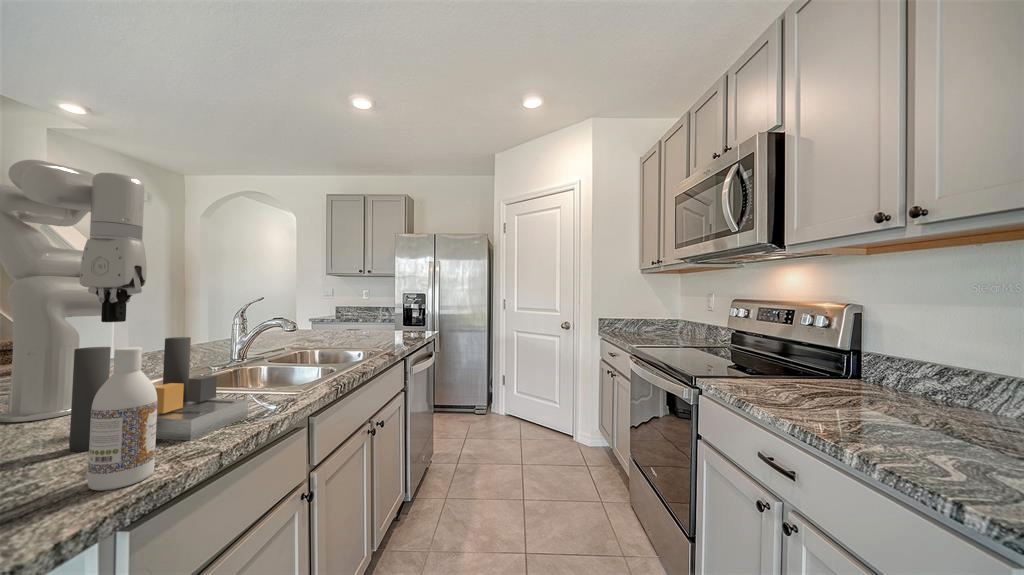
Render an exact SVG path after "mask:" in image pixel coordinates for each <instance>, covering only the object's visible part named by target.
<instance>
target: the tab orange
mask: <svg viewBox="0 0 1024 575" xmlns="http://www.w3.org/2000/svg"><path fill="white" fill-rule="evenodd" d="M154 387H155V389H156V393H157V399H158V400H157V413H167V412H170V411H173V410H176V409H180V408H183V390H184V384H182V383H169V384H164V385H163V384H161V385H156V386H154Z"/></svg>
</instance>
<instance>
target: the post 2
mask: <svg viewBox="0 0 1024 575" xmlns="http://www.w3.org/2000/svg"><path fill="white" fill-rule="evenodd" d="M191 340H192V337H189V336H179V337H178V336H177V337H176V336H175V337H166V338H164V354H163V374H162V385H164V384H169V383H182V384H184V390H183V402H187V401H188V379H190V368H191V367H190V363H191V362H190V361H191V360H190V358H191V343H192V342H191Z"/></svg>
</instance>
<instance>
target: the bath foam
mask: <svg viewBox="0 0 1024 575" xmlns="http://www.w3.org/2000/svg"><path fill="white" fill-rule="evenodd" d="M113 353H114V354H113V355H114V356H113V357H114V358H113V373H112V374H111V375H109V379H108V380H107V381H106V382H105V383H104V384H103V385H102V387H101V388H100V389H99V390H98V392H97V393H96V395H95V397H94V400H93V403H92V409H91V421H90V440H89V451H88V461H87V462H88V464H87V465H88V466H87V467H88V468H87V472H88V473H87V487H88V488H89V489H90V490H93V491H111V490H116V489H121V488H124V487H128V486H131V485H134V484H137V483H140V482H141V481H144V480H145V479H148V478H149V477H150V476H151V475H152V474H153V473H154V471H155V463H156V462H155V459H156V440H157V439H156V422H157V400H158V399H157V393H156V389H155V387H156V386H154V384H153V382H152V381H151V380H150V379H149V377H147V374H145V373H144V372H143V371H142V370H141V369H142V361H143V360H142V355H143V354H142V353H143V348H142V347H141V346H127V347H119V348H118V347H117V348H115V349H114V352H113Z"/></svg>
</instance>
